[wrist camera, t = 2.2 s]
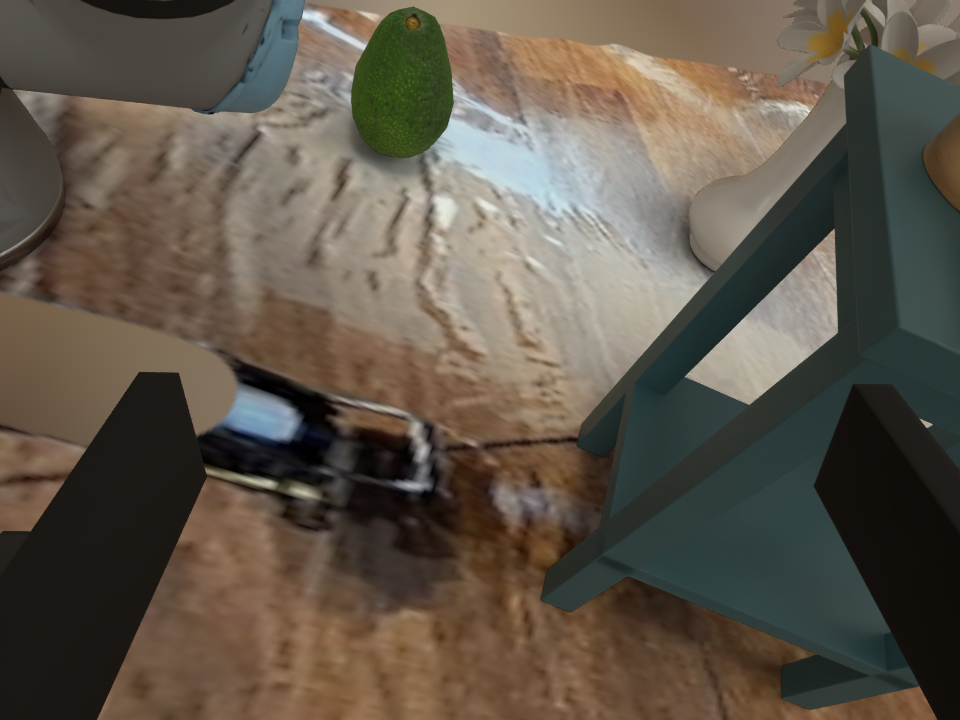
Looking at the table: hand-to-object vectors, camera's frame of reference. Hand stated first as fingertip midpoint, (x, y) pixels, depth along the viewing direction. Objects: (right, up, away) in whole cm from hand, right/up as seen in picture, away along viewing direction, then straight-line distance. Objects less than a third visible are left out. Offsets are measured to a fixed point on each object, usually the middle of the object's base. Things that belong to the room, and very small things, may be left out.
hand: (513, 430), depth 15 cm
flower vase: (+20, +12, +51) cm, 56 cm away
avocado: (-8, +19, +45) cm, 49 cm away
